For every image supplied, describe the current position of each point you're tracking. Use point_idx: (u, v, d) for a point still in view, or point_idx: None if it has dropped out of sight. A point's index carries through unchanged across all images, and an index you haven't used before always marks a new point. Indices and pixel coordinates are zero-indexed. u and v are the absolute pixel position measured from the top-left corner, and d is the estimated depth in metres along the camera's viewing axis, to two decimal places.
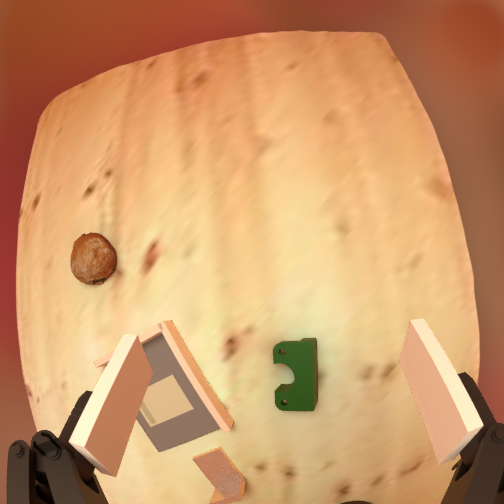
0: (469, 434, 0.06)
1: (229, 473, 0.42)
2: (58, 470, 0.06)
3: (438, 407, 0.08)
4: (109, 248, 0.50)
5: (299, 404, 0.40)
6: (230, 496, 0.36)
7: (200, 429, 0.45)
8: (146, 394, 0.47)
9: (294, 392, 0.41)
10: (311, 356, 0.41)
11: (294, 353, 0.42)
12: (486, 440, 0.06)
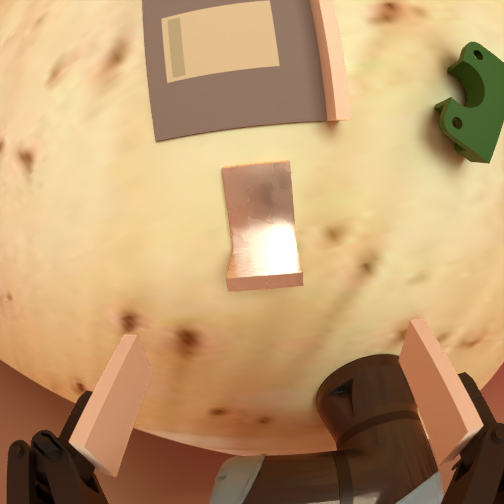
0: (469, 434, 0.06)
1: (278, 224, 0.27)
2: (58, 470, 0.06)
3: (438, 407, 0.08)
4: None
5: (477, 139, 0.19)
6: (281, 272, 0.23)
7: (270, 110, 0.24)
8: (195, 20, 0.20)
9: (477, 117, 0.18)
10: None
11: (493, 68, 0.16)
12: (486, 440, 0.06)
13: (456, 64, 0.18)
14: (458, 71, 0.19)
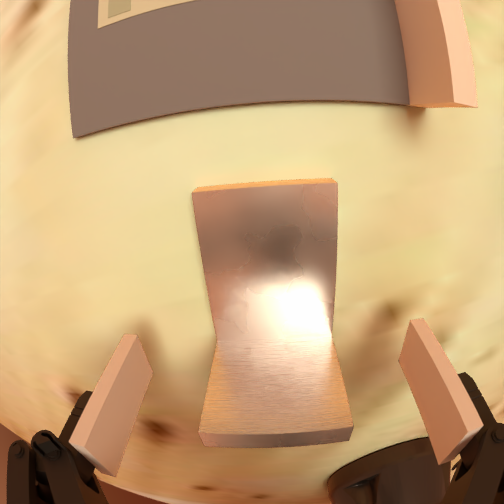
0: (469, 434, 0.06)
1: (304, 304, 0.14)
2: (58, 470, 0.06)
3: (438, 407, 0.08)
4: None
5: None
6: (311, 424, 0.10)
7: (299, 71, 0.10)
8: None
9: None
10: None
11: None
12: (486, 440, 0.06)
13: None
14: None
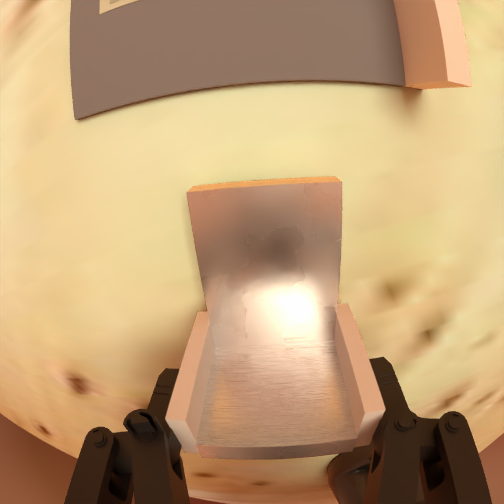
0: (370, 416, 0.08)
1: (306, 309, 0.13)
2: (148, 453, 0.07)
3: (349, 388, 0.10)
4: None
5: None
6: (313, 437, 0.09)
7: (297, 52, 0.10)
8: None
9: None
10: None
11: None
12: (390, 430, 0.07)
13: None
14: None
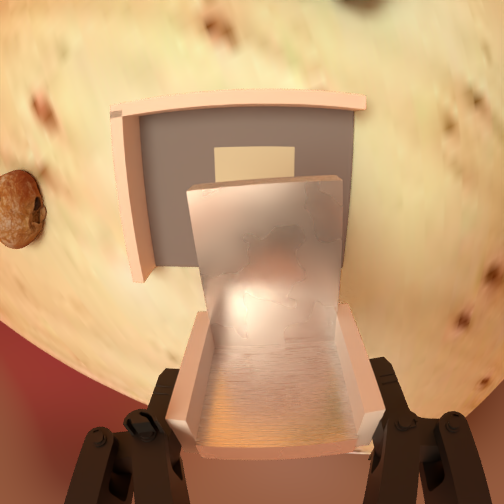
0: (370, 416, 0.08)
1: (306, 308, 0.13)
2: (148, 453, 0.07)
3: (349, 388, 0.10)
4: (6, 173, 0.25)
5: None
6: (314, 437, 0.09)
7: (338, 162, 0.25)
8: None
9: None
10: None
11: None
12: (390, 430, 0.07)
13: None
14: None
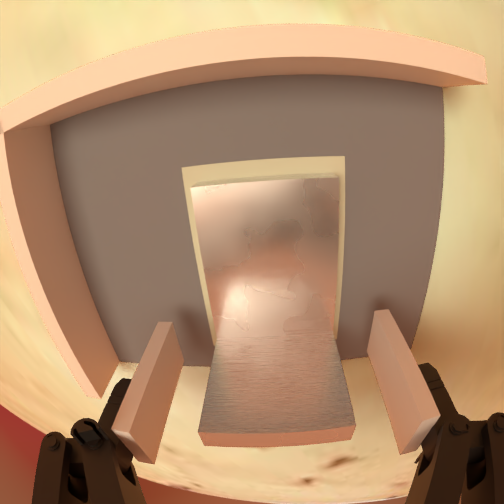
0: (425, 423, 0.07)
1: (305, 300, 0.14)
2: (97, 460, 0.07)
3: (398, 396, 0.09)
4: None
5: None
6: (313, 423, 0.10)
7: (422, 183, 0.12)
8: None
9: None
10: None
11: None
12: (444, 433, 0.07)
13: None
14: None
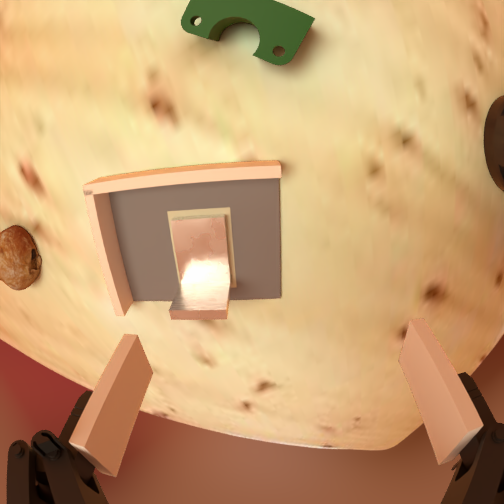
0: (469, 434, 0.06)
1: (215, 265, 0.34)
2: (58, 470, 0.06)
3: (438, 407, 0.08)
4: (5, 230, 0.31)
5: (292, 30, 0.20)
6: (210, 308, 0.30)
7: (268, 216, 0.33)
8: None
9: (268, 28, 0.20)
10: None
11: (206, 4, 0.19)
12: (486, 440, 0.06)
13: (211, 39, 0.23)
14: (217, 34, 0.23)
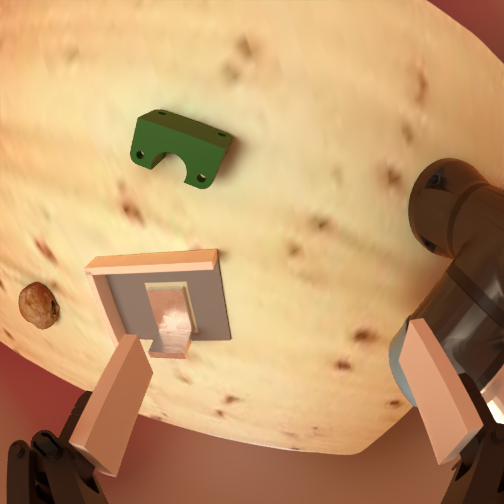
0: (469, 434, 0.06)
1: (180, 319, 0.46)
2: (58, 470, 0.06)
3: (438, 407, 0.08)
4: (29, 287, 0.45)
5: (209, 161, 0.32)
6: (174, 351, 0.42)
7: (213, 287, 0.45)
8: None
9: (191, 160, 0.33)
10: (154, 124, 0.30)
11: (144, 141, 0.32)
12: (486, 440, 0.06)
13: (156, 163, 0.35)
14: (161, 156, 0.36)
